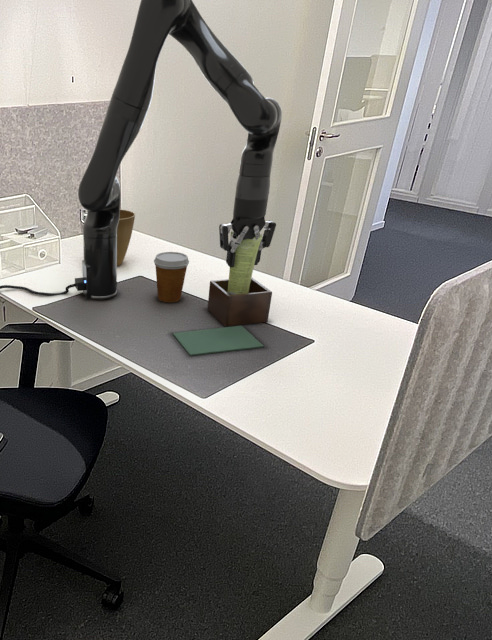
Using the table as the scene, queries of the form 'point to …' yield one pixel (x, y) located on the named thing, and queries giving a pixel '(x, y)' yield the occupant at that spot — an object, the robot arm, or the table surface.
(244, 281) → the tube
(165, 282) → the disposable coffee cup
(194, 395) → the table surface
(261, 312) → the box
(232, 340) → the felt mat
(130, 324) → the table surface
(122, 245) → the plant pot
